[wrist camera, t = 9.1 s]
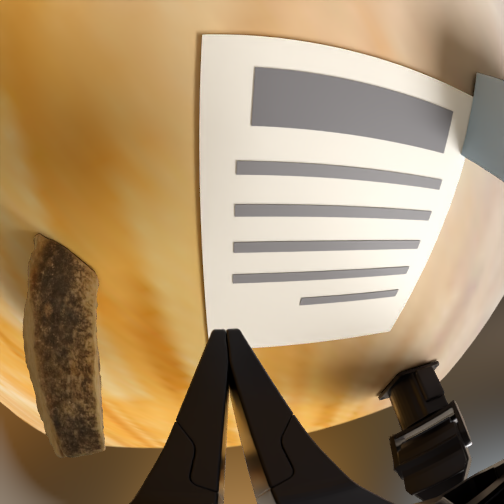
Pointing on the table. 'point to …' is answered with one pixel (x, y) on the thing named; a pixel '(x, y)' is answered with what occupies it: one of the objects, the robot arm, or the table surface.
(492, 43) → the table surface
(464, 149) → the cube
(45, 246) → the rock
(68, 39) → the table surface
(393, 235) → the letter
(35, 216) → the table surface
